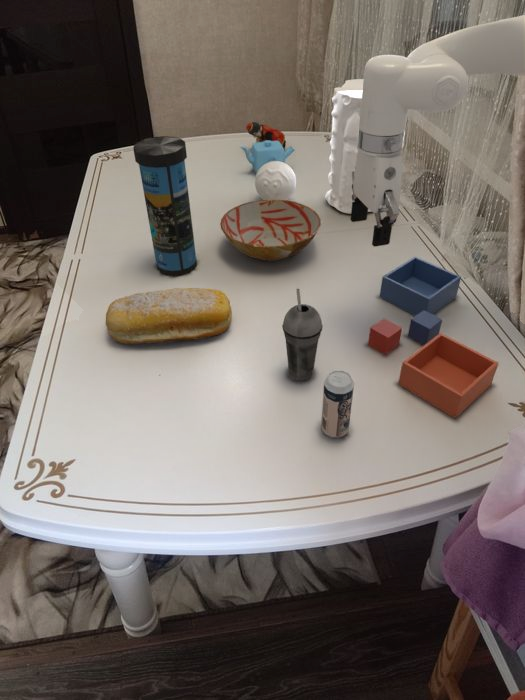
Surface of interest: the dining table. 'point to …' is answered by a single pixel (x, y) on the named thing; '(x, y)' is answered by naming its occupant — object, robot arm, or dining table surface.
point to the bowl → (270, 228)
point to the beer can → (337, 403)
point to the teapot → (266, 153)
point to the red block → (384, 336)
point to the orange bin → (447, 374)
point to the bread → (169, 316)
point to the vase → (344, 143)
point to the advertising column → (167, 203)
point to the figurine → (265, 133)
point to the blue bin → (419, 286)
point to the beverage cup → (301, 339)
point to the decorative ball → (275, 181)
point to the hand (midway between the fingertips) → (369, 232)
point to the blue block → (424, 327)
